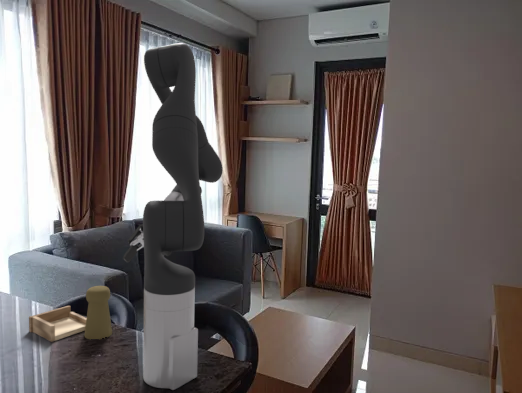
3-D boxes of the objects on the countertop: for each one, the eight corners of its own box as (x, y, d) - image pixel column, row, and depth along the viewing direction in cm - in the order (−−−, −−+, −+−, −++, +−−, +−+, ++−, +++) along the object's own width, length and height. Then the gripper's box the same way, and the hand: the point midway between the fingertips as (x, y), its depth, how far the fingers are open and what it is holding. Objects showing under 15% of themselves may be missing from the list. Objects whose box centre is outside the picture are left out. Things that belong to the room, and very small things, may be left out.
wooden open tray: (91, 328, 101) (91, 313, 101) (49, 342, 93) (49, 327, 93) (70, 318, 106) (70, 304, 106) (29, 331, 98) (28, 316, 98)
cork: (116, 329, 101) (116, 284, 100) (105, 340, 95) (104, 292, 94) (92, 327, 102) (91, 282, 101) (78, 338, 96) (78, 290, 95)
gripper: (146, 201, 115) (109, 250, 107) (184, 206, 107) (147, 260, 99) (161, 218, 120) (127, 266, 112) (199, 225, 112) (164, 277, 104)
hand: (136, 263), depth 105 cm, fingers open, 8 cm apart
